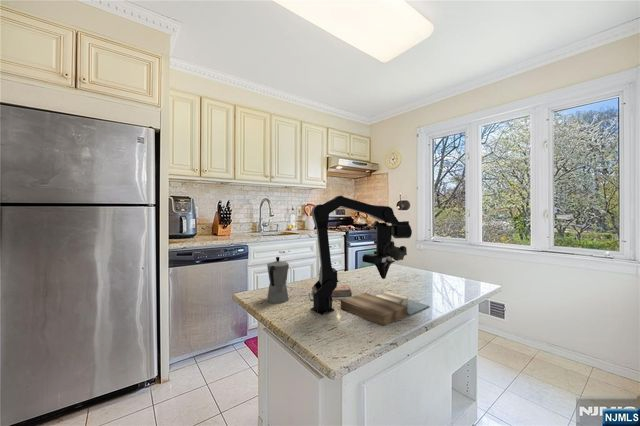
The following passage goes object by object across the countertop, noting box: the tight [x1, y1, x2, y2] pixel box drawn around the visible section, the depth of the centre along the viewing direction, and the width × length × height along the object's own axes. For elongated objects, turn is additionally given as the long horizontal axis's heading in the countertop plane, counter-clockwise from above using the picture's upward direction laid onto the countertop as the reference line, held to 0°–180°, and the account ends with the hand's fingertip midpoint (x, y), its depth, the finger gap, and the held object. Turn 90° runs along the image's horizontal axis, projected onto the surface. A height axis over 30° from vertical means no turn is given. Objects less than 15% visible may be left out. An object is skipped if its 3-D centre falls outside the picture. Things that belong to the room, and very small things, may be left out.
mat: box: [372, 291, 430, 317], centre depth 106 cm, size 13×22×1 cm, turn 39°
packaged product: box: [308, 284, 353, 302], centre depth 114 cm, size 18×5×10 cm
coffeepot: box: [266, 256, 290, 304], centre depth 109 cm, size 15×9×18 cm, turn 172°
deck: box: [340, 292, 409, 327], centre depth 97 cm, size 14×20×3 cm
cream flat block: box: [374, 291, 409, 305], centre depth 104 cm, size 8×10×2 cm
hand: (383, 278), depth 102 cm, fingers closed
